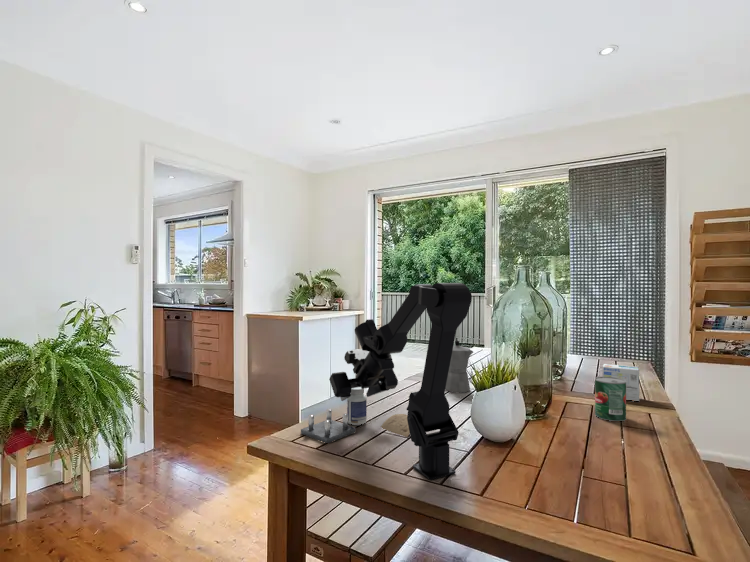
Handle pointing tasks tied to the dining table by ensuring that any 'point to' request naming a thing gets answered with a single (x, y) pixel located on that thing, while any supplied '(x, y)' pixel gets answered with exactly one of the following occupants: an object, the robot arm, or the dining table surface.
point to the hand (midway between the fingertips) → (354, 397)
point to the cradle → (328, 428)
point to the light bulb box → (625, 378)
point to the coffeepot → (458, 369)
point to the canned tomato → (610, 398)
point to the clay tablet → (397, 424)
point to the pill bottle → (357, 407)
